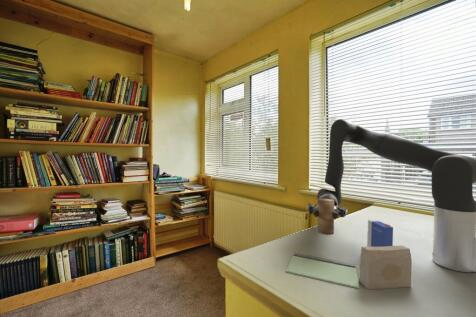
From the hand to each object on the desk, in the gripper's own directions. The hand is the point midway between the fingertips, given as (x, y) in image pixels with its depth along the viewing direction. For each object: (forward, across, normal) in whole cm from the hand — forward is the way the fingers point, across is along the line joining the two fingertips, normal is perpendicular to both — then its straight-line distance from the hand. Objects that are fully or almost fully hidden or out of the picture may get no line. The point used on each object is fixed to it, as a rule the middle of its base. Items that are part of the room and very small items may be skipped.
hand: (325, 215), depth 74 cm
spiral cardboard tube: (-3, 0, +6) cm, 7 cm away
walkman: (-4, +16, +14) cm, 21 cm away
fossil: (+11, +15, +14) cm, 23 cm away
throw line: (+4, 0, +13) cm, 14 cm away
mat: (+11, 0, +13) cm, 17 cm away
